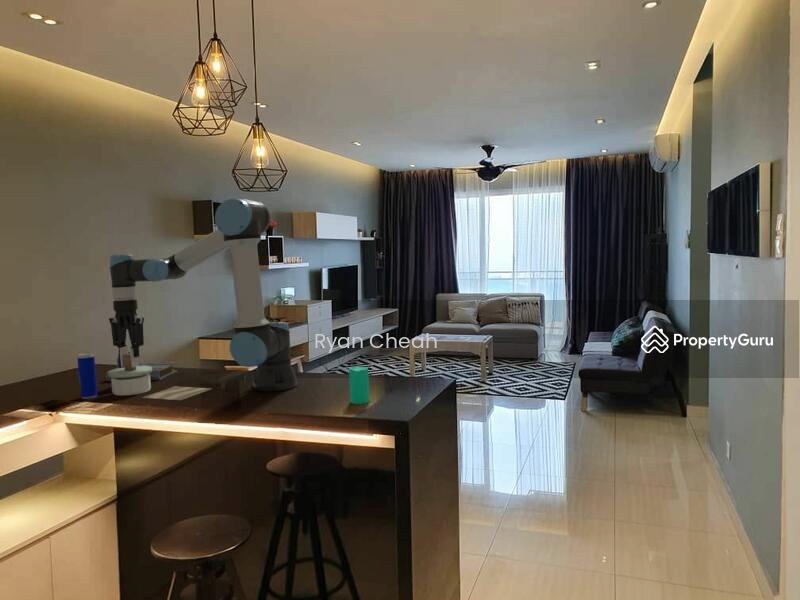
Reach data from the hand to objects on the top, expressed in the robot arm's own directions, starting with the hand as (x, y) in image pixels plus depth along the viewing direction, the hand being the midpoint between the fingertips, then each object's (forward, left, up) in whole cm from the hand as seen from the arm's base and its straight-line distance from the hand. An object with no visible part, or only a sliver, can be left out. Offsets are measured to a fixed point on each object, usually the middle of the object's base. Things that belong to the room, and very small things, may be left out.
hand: (130, 366), depth 208 cm
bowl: (0, 0, -10) cm, 10 cm away
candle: (-84, -7, -10) cm, 85 cm away
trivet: (-19, -1, -10) cm, 21 cm away
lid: (0, 0, -3) cm, 3 cm away
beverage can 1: (+11, +8, -10) cm, 17 cm away
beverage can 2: (+11, -10, -10) cm, 18 cm away
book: (+18, -24, -10) cm, 32 cm away
